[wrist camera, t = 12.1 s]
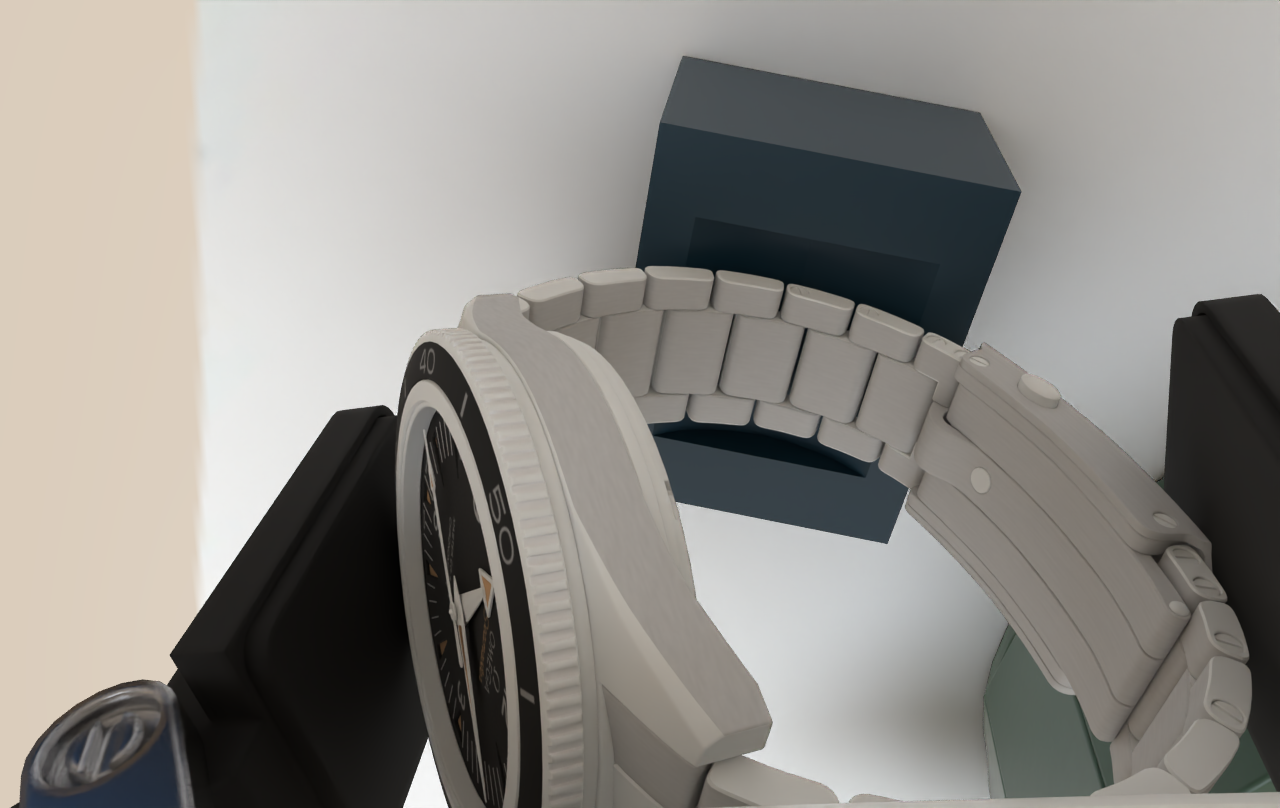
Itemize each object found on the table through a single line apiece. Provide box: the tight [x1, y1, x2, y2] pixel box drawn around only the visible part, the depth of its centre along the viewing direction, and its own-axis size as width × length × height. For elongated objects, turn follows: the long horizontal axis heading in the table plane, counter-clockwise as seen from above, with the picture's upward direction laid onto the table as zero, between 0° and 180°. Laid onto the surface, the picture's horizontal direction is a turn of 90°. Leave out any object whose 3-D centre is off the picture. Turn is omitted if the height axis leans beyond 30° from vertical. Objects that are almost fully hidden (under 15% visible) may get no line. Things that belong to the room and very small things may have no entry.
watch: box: [395, 56, 1252, 808], centre depth 12 cm, size 6×8×11 cm
